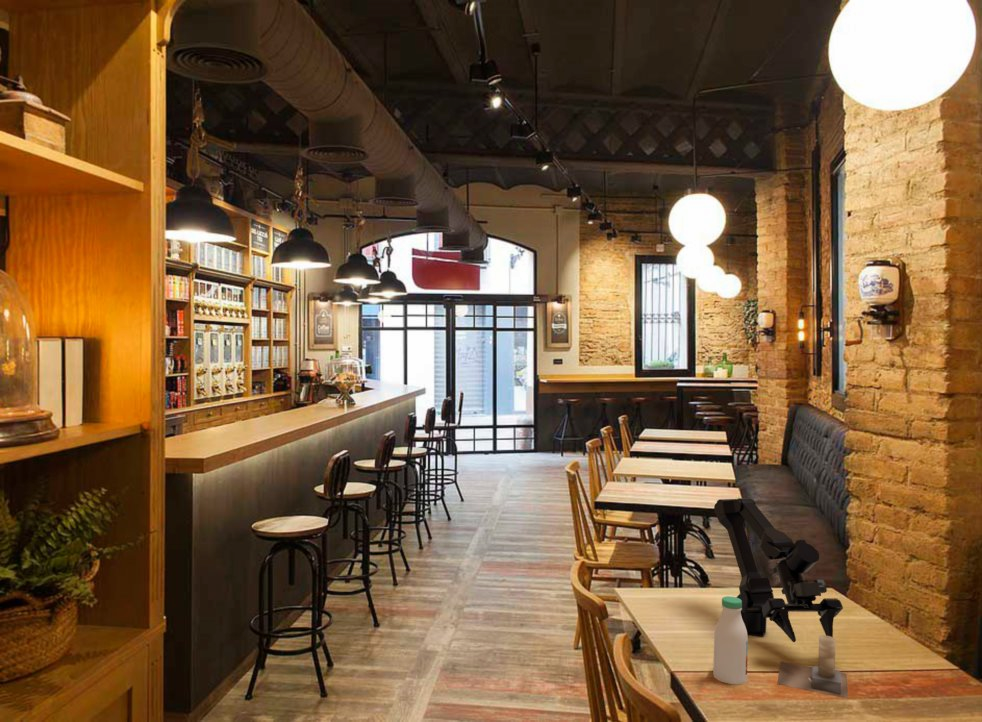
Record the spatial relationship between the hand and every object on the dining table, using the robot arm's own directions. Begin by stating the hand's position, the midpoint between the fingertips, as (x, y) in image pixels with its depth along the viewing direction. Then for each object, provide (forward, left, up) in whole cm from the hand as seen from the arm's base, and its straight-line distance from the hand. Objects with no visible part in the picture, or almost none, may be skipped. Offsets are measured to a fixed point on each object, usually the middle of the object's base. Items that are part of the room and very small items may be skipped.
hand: (813, 641), depth 175 cm
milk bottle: (-18, -12, -9) cm, 23 cm away
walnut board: (0, -4, -9) cm, 10 cm away
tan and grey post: (+3, -6, -8) cm, 10 cm away
